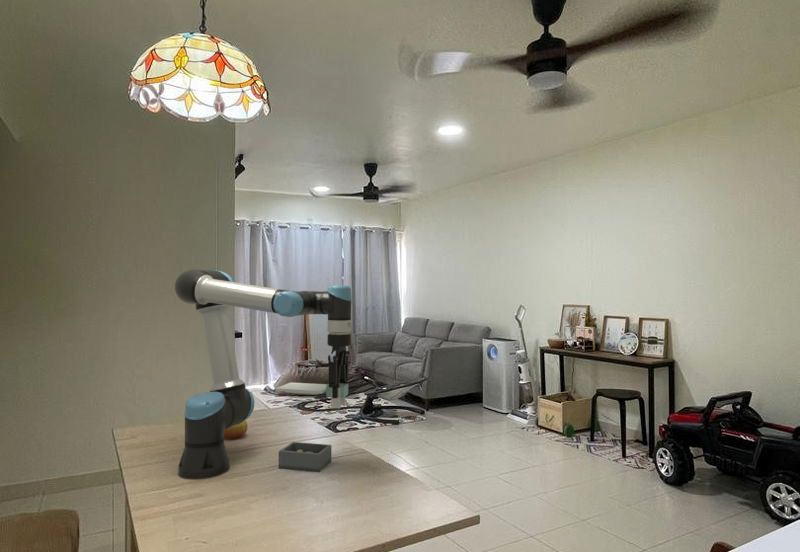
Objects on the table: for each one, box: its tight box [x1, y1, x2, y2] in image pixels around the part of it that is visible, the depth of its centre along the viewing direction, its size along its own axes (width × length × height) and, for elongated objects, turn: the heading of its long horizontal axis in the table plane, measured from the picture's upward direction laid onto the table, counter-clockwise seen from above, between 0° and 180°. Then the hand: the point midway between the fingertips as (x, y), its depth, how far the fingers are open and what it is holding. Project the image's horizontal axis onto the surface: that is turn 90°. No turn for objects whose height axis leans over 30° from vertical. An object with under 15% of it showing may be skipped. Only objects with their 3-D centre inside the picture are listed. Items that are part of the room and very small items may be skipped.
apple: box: [224, 419, 248, 440], centre depth 192 cm, size 10×10×8 cm
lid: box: [275, 382, 349, 398], centre depth 161 cm, size 22×11×4 cm, turn 76°
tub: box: [278, 441, 332, 473], centre depth 161 cm, size 14×10×6 cm
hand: (338, 406), depth 159 cm, fingers closed on lid, 4 cm apart
